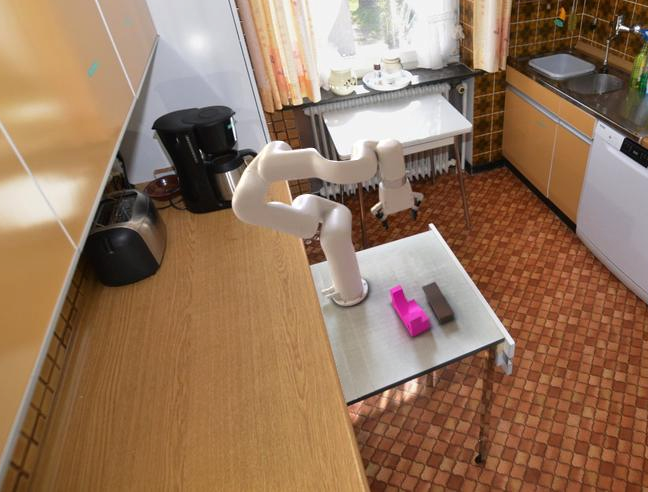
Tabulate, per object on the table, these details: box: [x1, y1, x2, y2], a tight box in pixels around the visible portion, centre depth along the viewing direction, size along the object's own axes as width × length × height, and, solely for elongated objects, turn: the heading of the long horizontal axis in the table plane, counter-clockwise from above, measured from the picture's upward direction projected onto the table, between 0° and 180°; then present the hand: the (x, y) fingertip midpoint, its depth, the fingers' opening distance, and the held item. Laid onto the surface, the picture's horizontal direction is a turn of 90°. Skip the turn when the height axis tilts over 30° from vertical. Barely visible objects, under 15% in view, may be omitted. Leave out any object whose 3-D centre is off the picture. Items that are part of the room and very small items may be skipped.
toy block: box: [389, 284, 431, 338], centre depth 142 cm, size 15×6×8 cm, turn 29°
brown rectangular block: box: [421, 281, 455, 324], centre depth 147 cm, size 15×5×3 cm, turn 23°
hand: (400, 222), depth 141 cm, fingers open, 9 cm apart
